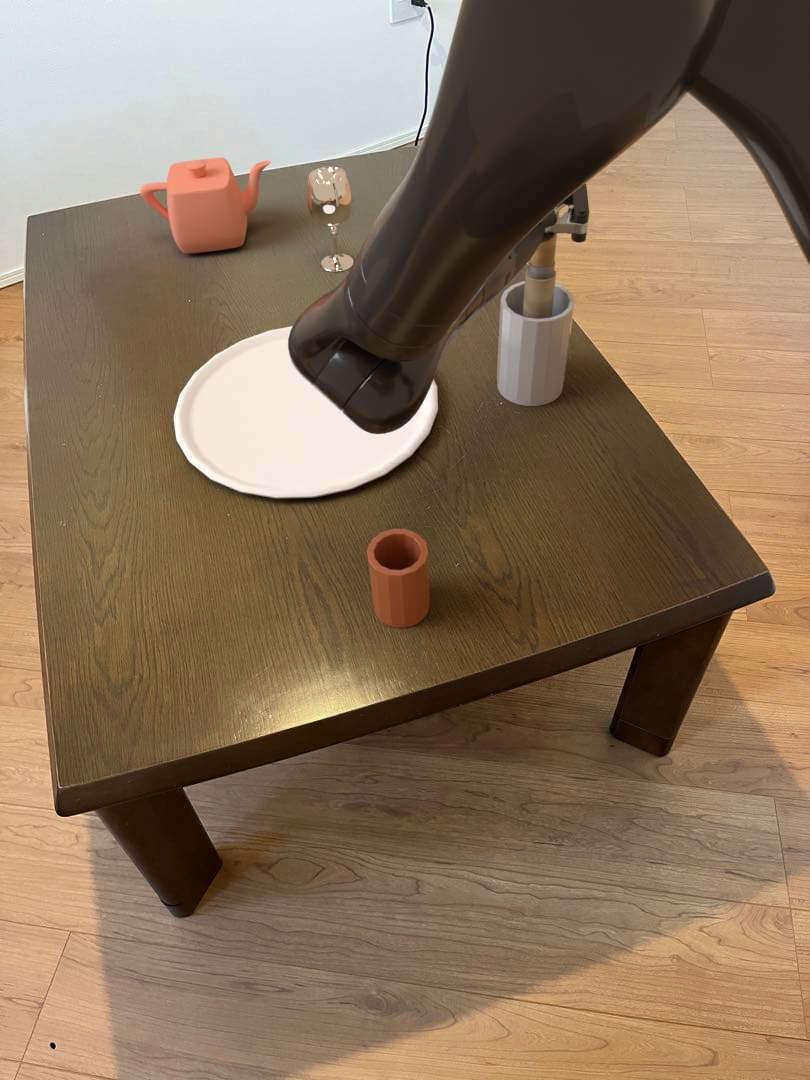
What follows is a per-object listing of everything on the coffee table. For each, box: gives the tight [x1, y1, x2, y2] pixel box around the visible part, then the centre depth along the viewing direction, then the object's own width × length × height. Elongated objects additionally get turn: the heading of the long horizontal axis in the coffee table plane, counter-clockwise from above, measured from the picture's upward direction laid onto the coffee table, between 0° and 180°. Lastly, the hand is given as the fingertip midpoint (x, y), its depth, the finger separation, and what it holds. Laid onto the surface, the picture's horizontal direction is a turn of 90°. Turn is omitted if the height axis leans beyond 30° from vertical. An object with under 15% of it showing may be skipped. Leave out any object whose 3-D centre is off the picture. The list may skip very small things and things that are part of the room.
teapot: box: [139, 157, 272, 254], centre depth 114 cm, size 12×18×10 cm, turn 100°
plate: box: [173, 325, 439, 499], centre depth 92 cm, size 29×29×1 cm
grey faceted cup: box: [496, 280, 576, 407], centre depth 89 cm, size 7×7×11 cm
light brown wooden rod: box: [523, 211, 560, 319], centre depth 79 cm, size 3×3×20 cm
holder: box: [366, 528, 431, 629], centre depth 71 cm, size 5×5×8 cm
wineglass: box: [306, 165, 355, 273], centre depth 107 cm, size 6×6×12 cm
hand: (562, 165), depth 77 cm, fingers closed on light brown wooden rod, 2 cm apart
